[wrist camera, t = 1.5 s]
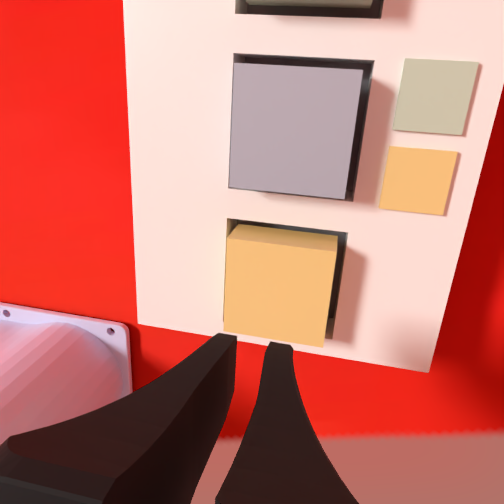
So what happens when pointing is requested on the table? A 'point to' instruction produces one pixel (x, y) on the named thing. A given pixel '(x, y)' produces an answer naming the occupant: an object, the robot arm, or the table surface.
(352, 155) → the keyguard panel
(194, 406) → the robot arm
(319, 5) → the key sage
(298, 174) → the key slate
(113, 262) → the table surface
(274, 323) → the key ochre
